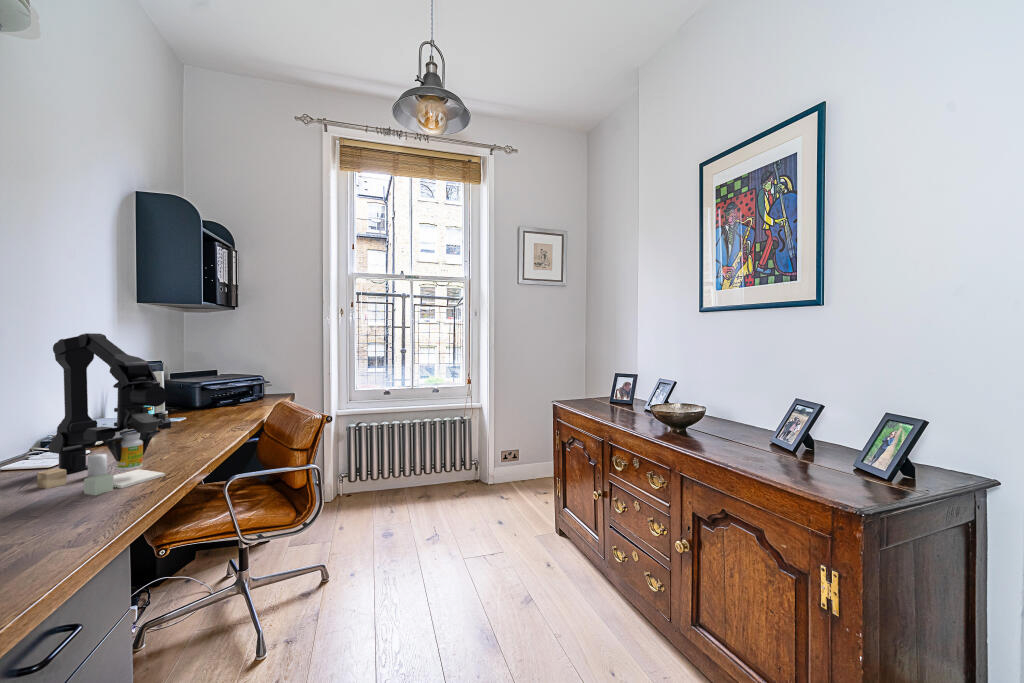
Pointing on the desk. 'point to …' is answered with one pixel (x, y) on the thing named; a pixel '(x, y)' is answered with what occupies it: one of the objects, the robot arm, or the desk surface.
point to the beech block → (51, 478)
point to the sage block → (98, 484)
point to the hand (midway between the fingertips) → (130, 458)
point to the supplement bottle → (131, 451)
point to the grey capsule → (97, 465)
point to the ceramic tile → (134, 477)
